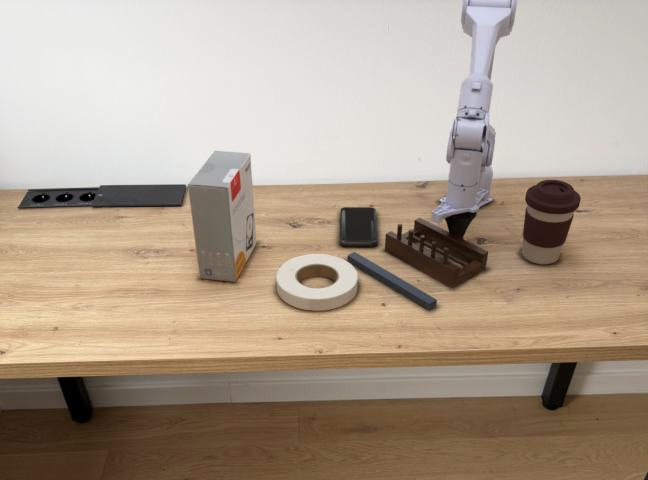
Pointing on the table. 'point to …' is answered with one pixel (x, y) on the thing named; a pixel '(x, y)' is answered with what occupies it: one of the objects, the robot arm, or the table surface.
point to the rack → (442, 244)
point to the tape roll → (317, 297)
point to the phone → (358, 227)
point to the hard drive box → (223, 215)
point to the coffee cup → (548, 220)
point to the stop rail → (392, 281)
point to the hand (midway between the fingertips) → (455, 242)
